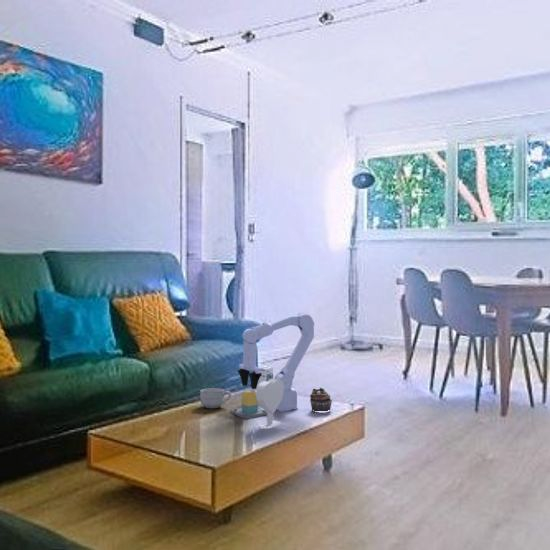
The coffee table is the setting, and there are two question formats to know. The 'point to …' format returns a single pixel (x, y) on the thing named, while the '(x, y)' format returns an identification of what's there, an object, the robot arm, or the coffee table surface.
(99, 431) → the coffee table surface
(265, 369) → the syrup box
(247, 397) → the ochre brick
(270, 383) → the heart sculpture
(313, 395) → the cupcake
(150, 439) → the coffee table surface
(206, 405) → the teacup
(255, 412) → the base plate
